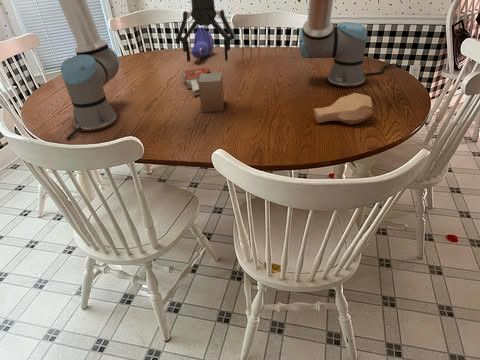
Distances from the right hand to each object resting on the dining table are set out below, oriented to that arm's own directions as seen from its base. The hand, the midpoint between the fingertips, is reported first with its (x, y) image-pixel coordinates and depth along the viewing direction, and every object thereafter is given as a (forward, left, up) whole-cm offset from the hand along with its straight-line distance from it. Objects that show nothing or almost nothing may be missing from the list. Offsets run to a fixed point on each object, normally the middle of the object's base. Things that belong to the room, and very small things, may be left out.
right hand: (313, 0), depth 164 cm
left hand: (+61, +34, -8) cm, 71 cm away
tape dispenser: (+62, +10, -27) cm, 68 cm away
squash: (+23, +66, -27) cm, 74 cm away
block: (+61, +34, -27) cm, 75 cm away
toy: (+50, -28, -27) cm, 63 cm away
